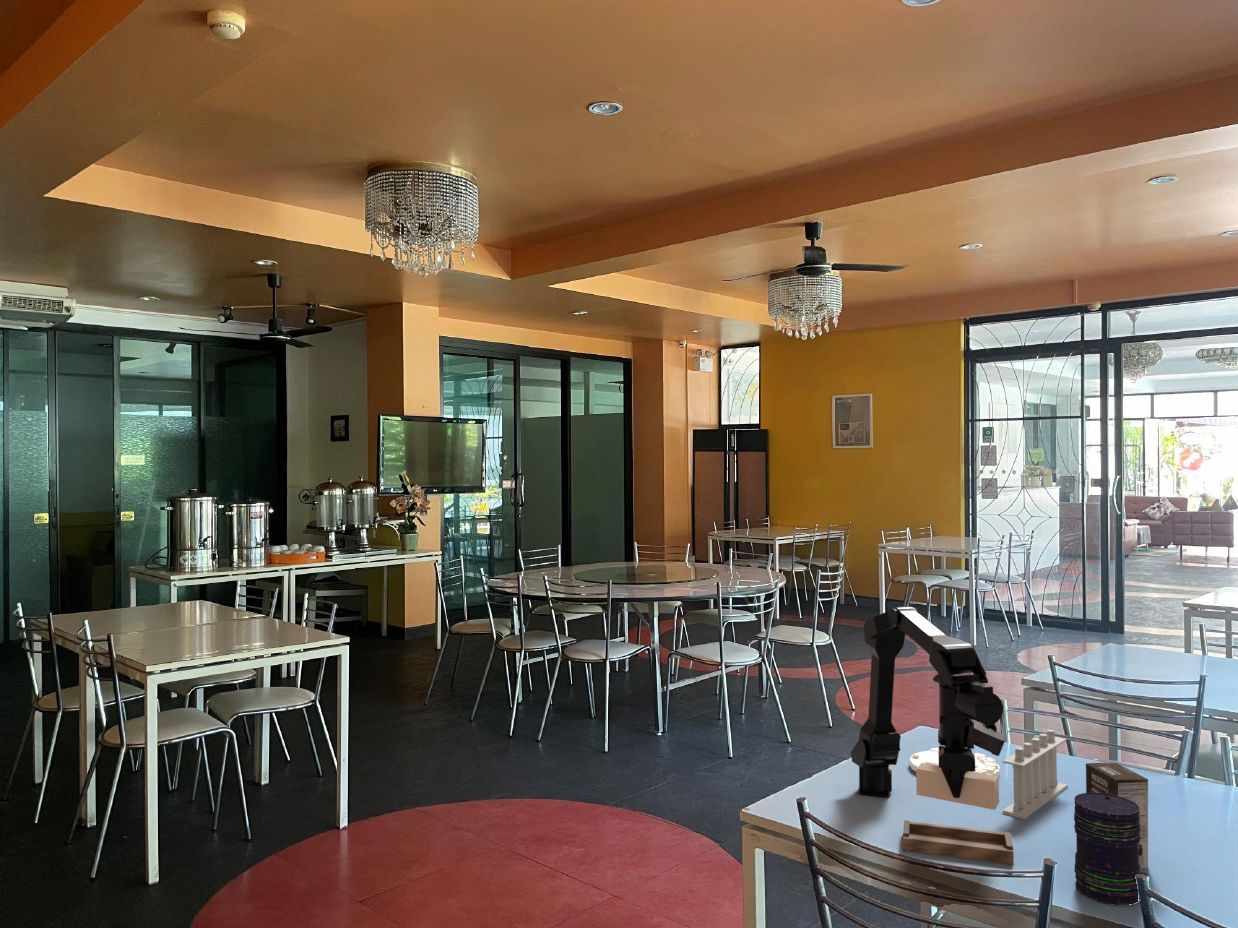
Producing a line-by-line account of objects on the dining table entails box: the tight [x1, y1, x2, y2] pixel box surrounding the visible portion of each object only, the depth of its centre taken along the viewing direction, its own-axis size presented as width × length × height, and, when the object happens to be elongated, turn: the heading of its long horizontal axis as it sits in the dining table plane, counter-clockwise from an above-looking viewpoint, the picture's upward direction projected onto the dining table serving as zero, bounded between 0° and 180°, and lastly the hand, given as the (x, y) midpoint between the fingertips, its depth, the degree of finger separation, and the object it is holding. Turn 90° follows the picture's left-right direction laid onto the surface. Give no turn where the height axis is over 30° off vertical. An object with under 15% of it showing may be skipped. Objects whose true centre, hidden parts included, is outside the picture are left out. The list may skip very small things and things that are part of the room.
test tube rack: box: [1002, 729, 1068, 820], centre depth 191 cm, size 25×4×13 cm, turn 135°
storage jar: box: [1073, 792, 1141, 906], centre depth 149 cm, size 10×10×15 cm
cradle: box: [902, 819, 1015, 865], centre depth 167 cm, size 19×8×3 cm, turn 71°
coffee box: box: [1085, 762, 1149, 869], centre depth 162 cm, size 9×6×16 cm
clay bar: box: [915, 763, 1000, 811], centre depth 167 cm, size 14×4×5 cm, turn 57°
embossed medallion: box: [909, 747, 1001, 777], centre depth 210 cm, size 20×20×3 cm
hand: (956, 792), depth 167 cm, fingers closed on clay bar, 4 cm apart
